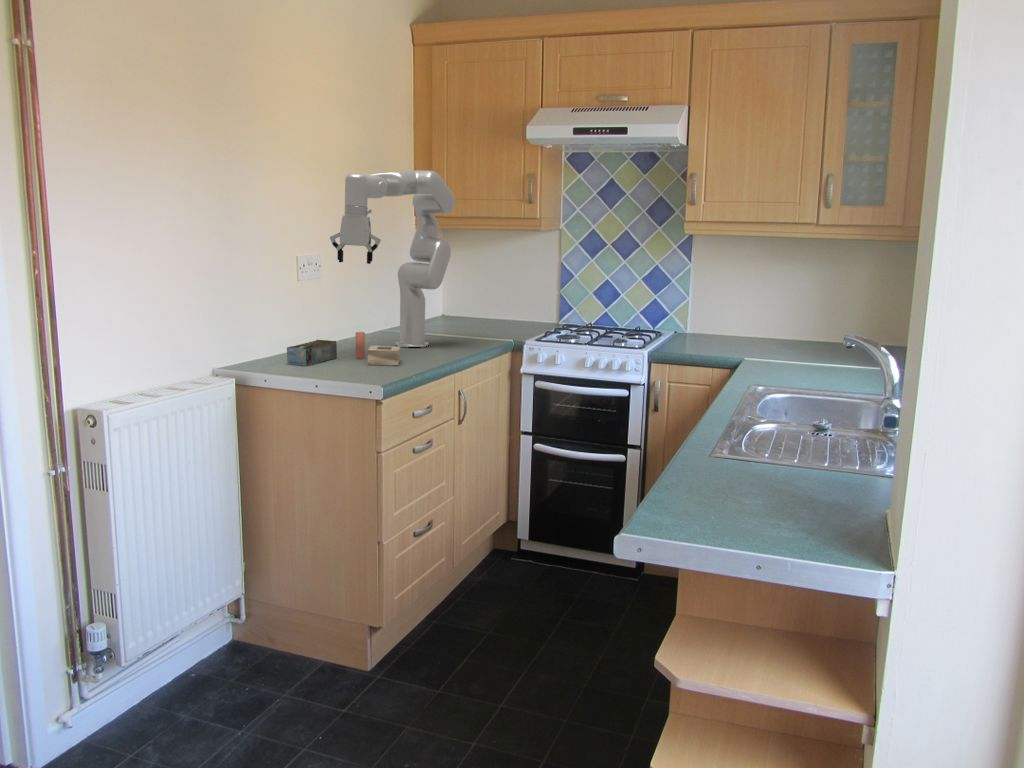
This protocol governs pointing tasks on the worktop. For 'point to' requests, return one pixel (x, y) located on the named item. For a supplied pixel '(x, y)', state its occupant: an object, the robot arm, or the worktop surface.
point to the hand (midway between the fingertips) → (354, 262)
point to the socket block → (384, 355)
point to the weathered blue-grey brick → (312, 352)
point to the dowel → (360, 345)
